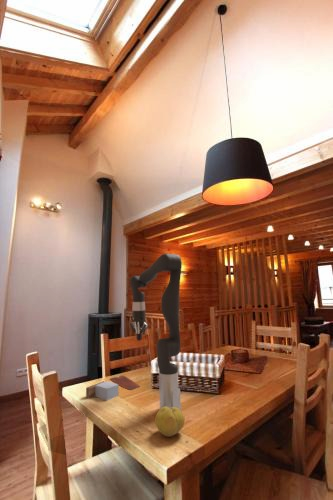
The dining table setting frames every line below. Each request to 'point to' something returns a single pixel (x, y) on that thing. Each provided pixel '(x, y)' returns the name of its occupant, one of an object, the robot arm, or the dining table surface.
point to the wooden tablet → (125, 382)
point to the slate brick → (106, 390)
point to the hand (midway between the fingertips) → (139, 340)
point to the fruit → (169, 421)
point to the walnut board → (91, 391)
